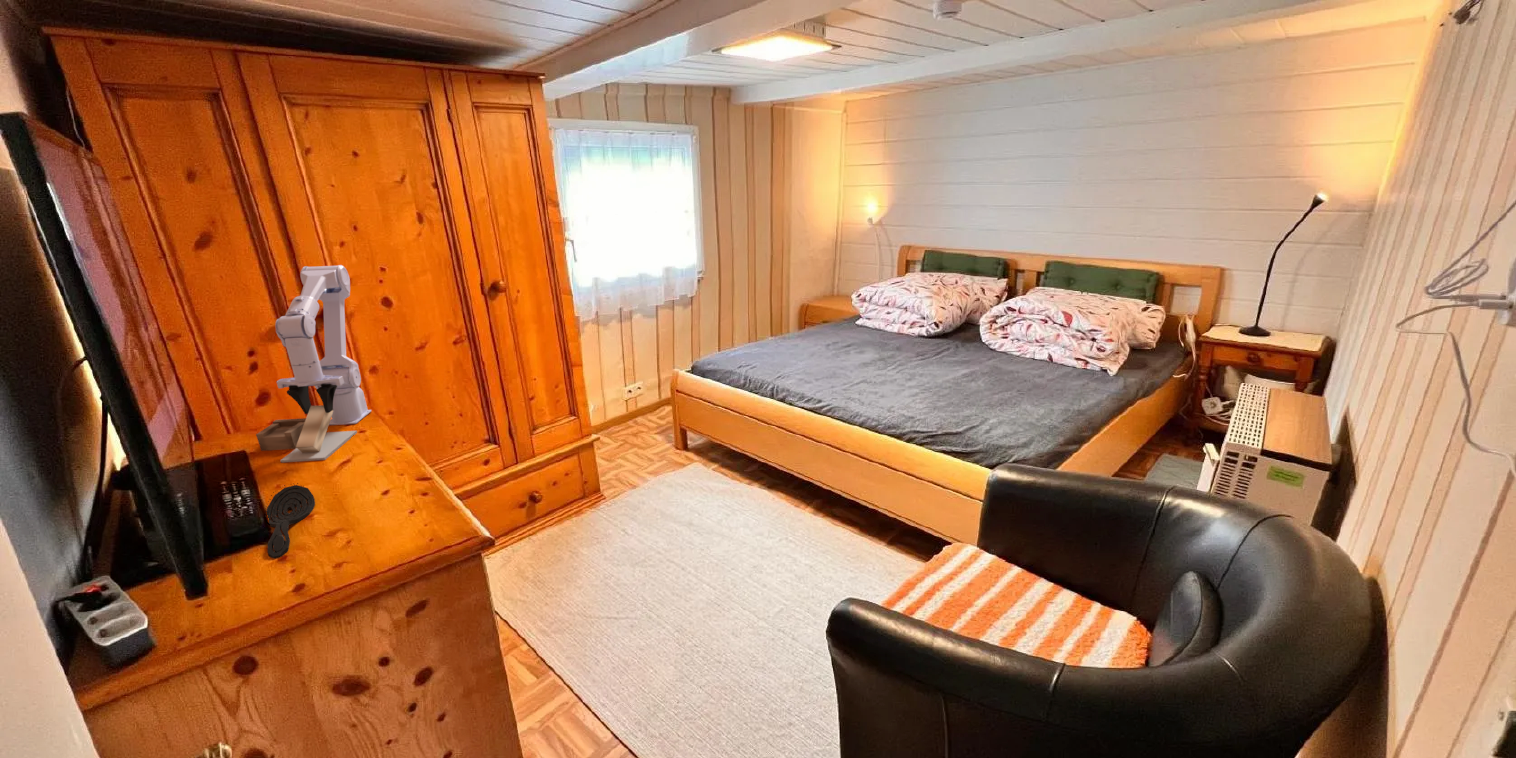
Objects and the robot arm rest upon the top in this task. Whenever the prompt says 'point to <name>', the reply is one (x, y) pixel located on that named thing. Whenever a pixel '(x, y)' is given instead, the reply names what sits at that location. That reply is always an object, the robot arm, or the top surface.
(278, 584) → the top surface
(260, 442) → the holder
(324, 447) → the mat
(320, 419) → the bar
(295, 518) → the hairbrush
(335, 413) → the robot arm
